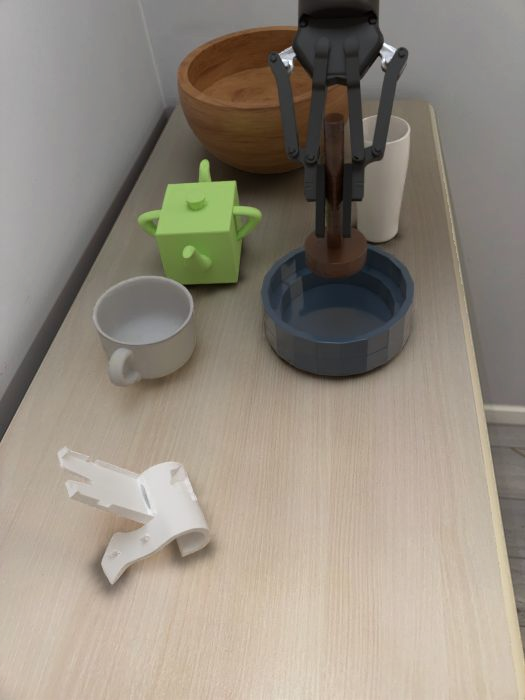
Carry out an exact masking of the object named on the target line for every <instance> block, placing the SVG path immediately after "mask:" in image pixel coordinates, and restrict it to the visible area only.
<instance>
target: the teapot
mask: <svg viewBox="0 0 525 700" xmlns="http://www.w3.org/2000/svg"><path fill="white" fill-rule="evenodd" d="M262 215H263V214H262V212H261V210H260V209H258V208H256V207H252V206H247V205H245V206H244V205H243V206H242V205H240V199H239V192H238V186H237V181H236V180H221V181H212V178H211V173H210V161H209V160H208V159H206V158H205V159H202V160H201V161H200V163H199V168H198V182H186V183H168V184H167V185H166V190H165V193H164V197H163V202H162V205H161V209H155V210H151V211H147V212H144V213H142V214H141V215H139V217H138V218H137V224H138V226H139V227H140V228H141V230H143V231H144V232H145V233H146V234H148V235H150V236H151V237H153V238H155V239H156V244H157V247H158V251H159V256H160V259H161V263H162V267H163V270H164V276H165V277H166V278H169V279H172V280H174V281H176V282H178V283H180V284H181V285H183V286H184V285H200V284H201V285H204V284H205V285H206V284H207V285H208V284H230V283H231V284H232V283H233V284H234V283H238V280H239V272H240V262H241V253H242V244H243V239H244V238H245V237H246V236H247V235H249V234H250V233H251V232H253V231H254V230H255V229H256V228H257V227H258V225H259V224H260V223H261V221H262V218H263V216H262ZM242 217H247V219H246V221H245V223H244V225H243V222H242ZM156 220H158V221H157V225H156V224H155V223H154V222H153V221H156Z"/></svg>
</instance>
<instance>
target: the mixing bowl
mask: <svg viewBox="0 0 525 700" xmlns="http://www.w3.org/2000/svg"><path fill="white" fill-rule="evenodd" d="M414 291H415V283H414V280H413V278H412V276H411V273H410V271H409V269H408V268H407V266H406V265H405V264H404V263H402V261H400V259H398V258H397V257H396V256H395V255H394V254H393V253H391V252H388V251H386V250H384V249H382V248H380V247H378V246H377V245H373V244H370V243H367V258H366V263H365V265H364V267H363V268H362V269H361V270H360V271H359V272H357V273H355V274H354V275H351V276H348V277H345V278H337V279H333V278H325V277H322V276H319V275H317V274H315V273H313V272H312V271H311V270H310V269H309V268H308V266H307V265H306V261H305V245H303V246H301V247H298V248H295V249H293V250H290V251H289V252H288V253H286V254H285V255H284V256H282V257H280V258H279V259H278V260H276V261H275V262H274V263H273V264H272V266H271V267H270V268H269V270H268V271H267V272H266V274H265V275H264V276H263V280H262V284H261V289H260V300H261V309H262V316H263V317H262V318H263V323H264V328H265V335H266V338H267V342H268V343H269V344H270V346H271V348H272V349H273V350H274V351H275V353H276V354H277V356H278V357H280V358H281V359H282V360H284V361H285V362H287V363H288V364H290V365H292V367H294V368H296V369H299V370H302V371H305V372H307V373H311V374H315V375H317V376H318V375H320V376H331V377H348V376H353V375H359V374H363V373H366V372H369V371H372V370H374V369H376V368H379V367H380V366H383V365H385V364H386V363H388V362H390V361H391V360H392V359H393V358H394V357H395V356H396V355H397V354H398V353H399V352H401V351H402V349H403V348H404V346H405V344H406V342H407V340H408V338H409V336H410V334H411V329H412V328H411V327H412V319H413V318H412V316H413V307H414V299H415V298H414V294H415V292H414Z"/></svg>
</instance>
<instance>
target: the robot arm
mask: <svg viewBox="0 0 525 700" xmlns="http://www.w3.org/2000/svg"><path fill="white" fill-rule="evenodd" d="M297 1H298V2H297V26H298V29H297V32H296V34H295V36H294V38H293V40H292V46H291V47H289V48H287V49H286V50H284V51H282V52H281V53H279V54H278V53H276V52H272V53H270V54H269V55H268V57H267V60H268V63H269V66H270V69H271V71H272V73H273V75H274V77H275V79H276V81H277V88H278V96H279V104H280V112H281V119H282V127H283V135H284V143H285V151H286V154H287V156H288V158H289V160H290V161H291V162H296V163H299V164H301V165H303V166H302V167H304V182H303V183H304V186H303V187H304V188H303V189H304V190H303V194H304V195H303V196H304V198H305V201H306V202H308V203H313V202H314V203H315V218H314V219H315V222H314V226H315V228H314V231H315V235H316V237H317V238H325V226H326V188H325V163H320V158H321V155H320V150H321V141H322V132H323V123H324V114H325V105H326V98H327V92H328V87H329V86H333V85H336V84H339V85H343V86H347V94H348V109H349V119H348V121H349V138H350V153H351V154H350V155H351V163H350V162H347V163H345V162H344V175H343V218H342V236H343V238H351V227H352V205H353V204H352V203H353V202H356V201H362V199H363V197H364V172H365V168H366V166H367V165H368V164H370V163H372V162H375V161H380V160H382V159H383V157H384V152H385V147H386V141H387V135H388V130H389V124H390V118H391V116H392V113H393V106H394V101H395V96H396V91H397V84H398V81H399V80H400V78H401V77H402V75H403V73H404V71H405V69H406V67H407V64H408V59H409V50H408V49H407V48H406V47H404V46H400V47H398V48H396V47H394V46H392V45H390V44H388V43H386V42H385V37H384V35H383V33H382V31H381V28H380V0H297ZM378 57H379V58H380V59H381V63H380V68H381V71H382V72H383V73H384V75H383V81H382V87H381V93H380V99H379V103H378V110H377V114H376V115H377V120H376V126H375V132H374V137H373V143H372V146H369V147H366V148H364V135H363V119H364V118H363V107H362V91H361V89H362V88H361V80H362V79H363V78H364V77H365V76H366V74H367V73H368V72H369V70H370V69H371V68H372V66H373V65H374V63H375V62H376V60H377V59H378ZM296 59H298V61H299V62H300V64H301V65H302V66H303V68H304V69H305V71H306V72H307V74H308V75H309V76H310V78H311V79H312V94H311V103H310V112H309V121H308V130H307V139H306V149H304V148H301V147H299V139H298V131H297V123H296V115H295V108H294V100H293V92H292V86H291V82H290V78H289V76H291V75H292V74H293V73H294V62H295V60H296Z"/></svg>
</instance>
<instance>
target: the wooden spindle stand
mask: <svg viewBox="0 0 525 700" xmlns="http://www.w3.org/2000/svg"><path fill="white" fill-rule="evenodd" d="M323 153H324V164H325V188H326V207H325V238H317V237H316V235H315V230H313V231H311V233H310V234H308V235H307V237H306V239H305V241H304V246H305V261H306V265H307V266H308V268H309V269H310V270H311V271H312V272H313V273H315V274H317V275H319V276H322V277H325V278H333V279H337V278H345V277H348V276H351V275H354V274H355V273H357V272H359V271H360V270H361V269H362V268H363V267H364V265H365V263H366V258H367V244H368V241H367V240H366V238H365V236H364V235H363V234H362V233H361V232H360V231H359V230H357V228H355V227H352V226H351V238H343V236H342V218H343V175H344V163H345V127H344V116H343V115H342V114H339V113H330V114H327V115H326V116H325V117H324V152H323Z"/></svg>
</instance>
